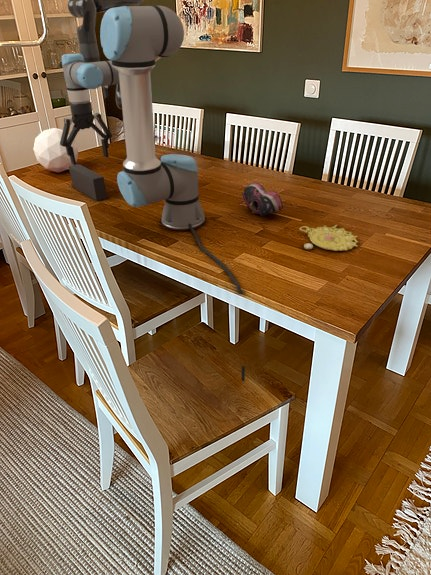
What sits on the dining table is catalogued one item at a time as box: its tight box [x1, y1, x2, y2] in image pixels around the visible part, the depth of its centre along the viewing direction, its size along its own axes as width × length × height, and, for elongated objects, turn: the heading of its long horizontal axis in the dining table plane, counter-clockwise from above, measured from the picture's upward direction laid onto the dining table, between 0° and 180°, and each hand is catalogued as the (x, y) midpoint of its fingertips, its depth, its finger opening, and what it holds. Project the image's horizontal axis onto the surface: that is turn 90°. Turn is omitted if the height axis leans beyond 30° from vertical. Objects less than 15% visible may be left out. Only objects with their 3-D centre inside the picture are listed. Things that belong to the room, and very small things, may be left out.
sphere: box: [32, 127, 79, 173], centre depth 205 cm, size 19×20×20 cm
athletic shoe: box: [238, 182, 284, 217], centre depth 160 cm, size 11×22×12 cm
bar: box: [68, 163, 108, 202], centre depth 182 cm, size 23×5×9 cm, turn 39°
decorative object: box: [299, 224, 359, 252], centre depth 141 cm, size 21×2×20 cm
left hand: (96, 99), depth 185 cm, fingers open, 8 cm apart
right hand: (90, 160), depth 172 cm, fingers open, 13 cm apart
